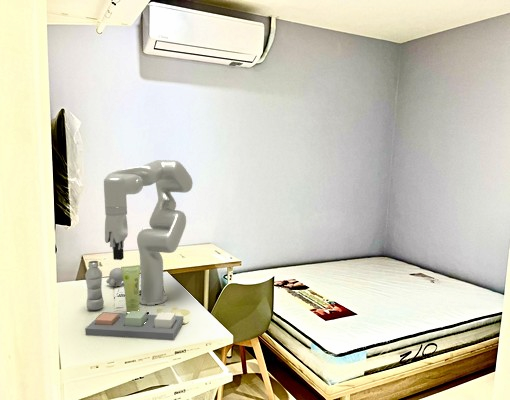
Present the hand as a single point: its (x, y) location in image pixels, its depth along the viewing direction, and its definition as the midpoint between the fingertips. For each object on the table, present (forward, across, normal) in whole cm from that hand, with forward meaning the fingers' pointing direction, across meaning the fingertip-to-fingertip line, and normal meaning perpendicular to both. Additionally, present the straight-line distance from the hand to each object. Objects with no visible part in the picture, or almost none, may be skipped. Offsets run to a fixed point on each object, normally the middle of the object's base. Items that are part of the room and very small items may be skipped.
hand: (118, 259), depth 153 cm
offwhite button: (+23, +4, +18) cm, 30 cm away
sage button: (+23, +4, +7) cm, 25 cm away
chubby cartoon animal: (+27, -39, -17) cm, 50 cm away
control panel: (+25, +4, +7) cm, 27 cm away
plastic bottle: (+26, -11, -16) cm, 32 cm away
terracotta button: (+25, +4, -4) cm, 25 cm away
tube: (+26, -10, 0) cm, 28 cm away
